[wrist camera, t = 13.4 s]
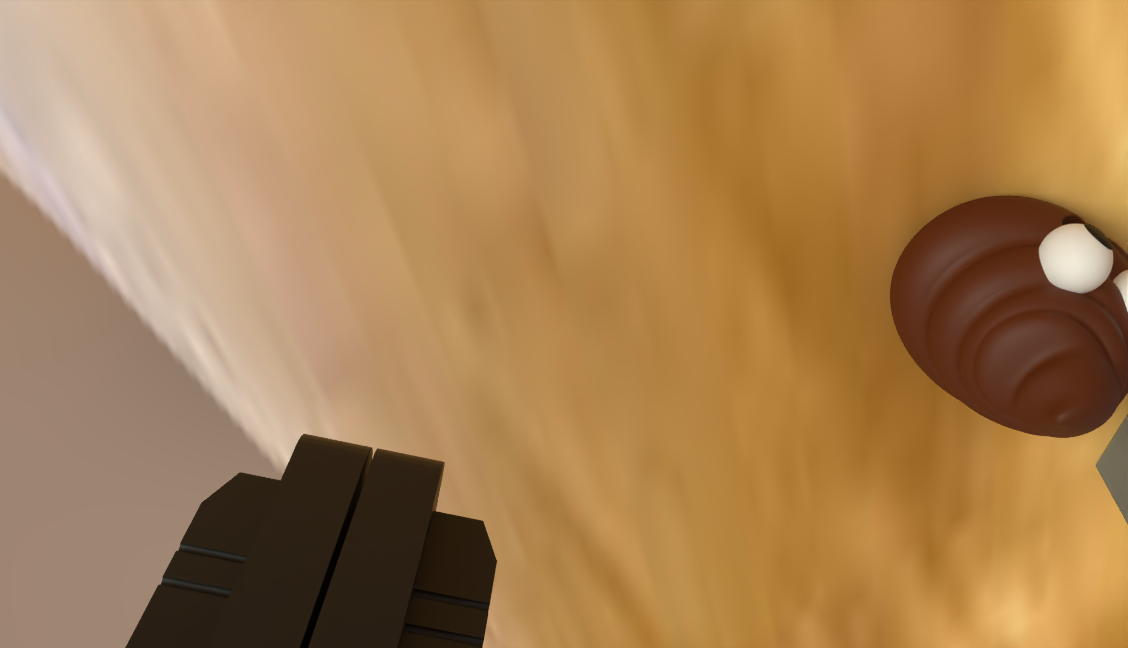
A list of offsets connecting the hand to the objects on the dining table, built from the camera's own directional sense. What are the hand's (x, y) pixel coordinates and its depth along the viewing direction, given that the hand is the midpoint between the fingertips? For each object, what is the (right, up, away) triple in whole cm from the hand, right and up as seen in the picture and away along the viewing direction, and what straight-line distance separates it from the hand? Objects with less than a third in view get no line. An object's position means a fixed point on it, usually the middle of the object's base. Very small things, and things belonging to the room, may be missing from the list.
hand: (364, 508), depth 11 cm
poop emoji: (+20, +4, +31) cm, 37 cm away
